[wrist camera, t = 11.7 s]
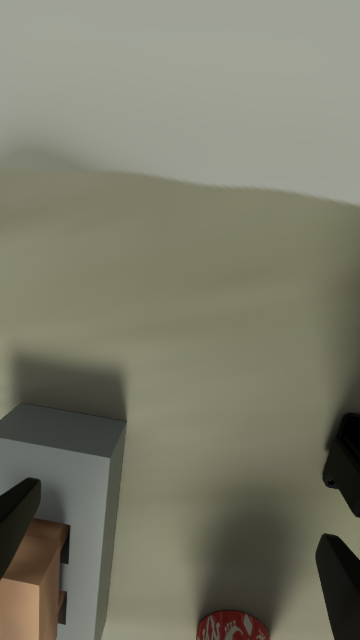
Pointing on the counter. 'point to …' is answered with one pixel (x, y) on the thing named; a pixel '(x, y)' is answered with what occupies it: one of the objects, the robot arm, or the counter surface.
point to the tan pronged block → (33, 584)
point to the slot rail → (71, 500)
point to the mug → (231, 627)
